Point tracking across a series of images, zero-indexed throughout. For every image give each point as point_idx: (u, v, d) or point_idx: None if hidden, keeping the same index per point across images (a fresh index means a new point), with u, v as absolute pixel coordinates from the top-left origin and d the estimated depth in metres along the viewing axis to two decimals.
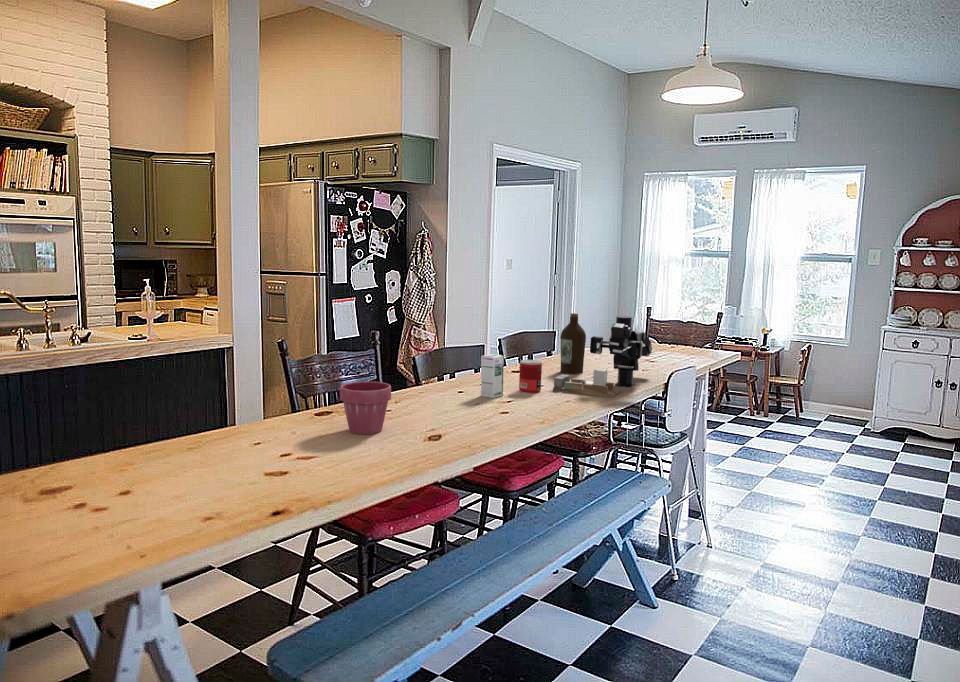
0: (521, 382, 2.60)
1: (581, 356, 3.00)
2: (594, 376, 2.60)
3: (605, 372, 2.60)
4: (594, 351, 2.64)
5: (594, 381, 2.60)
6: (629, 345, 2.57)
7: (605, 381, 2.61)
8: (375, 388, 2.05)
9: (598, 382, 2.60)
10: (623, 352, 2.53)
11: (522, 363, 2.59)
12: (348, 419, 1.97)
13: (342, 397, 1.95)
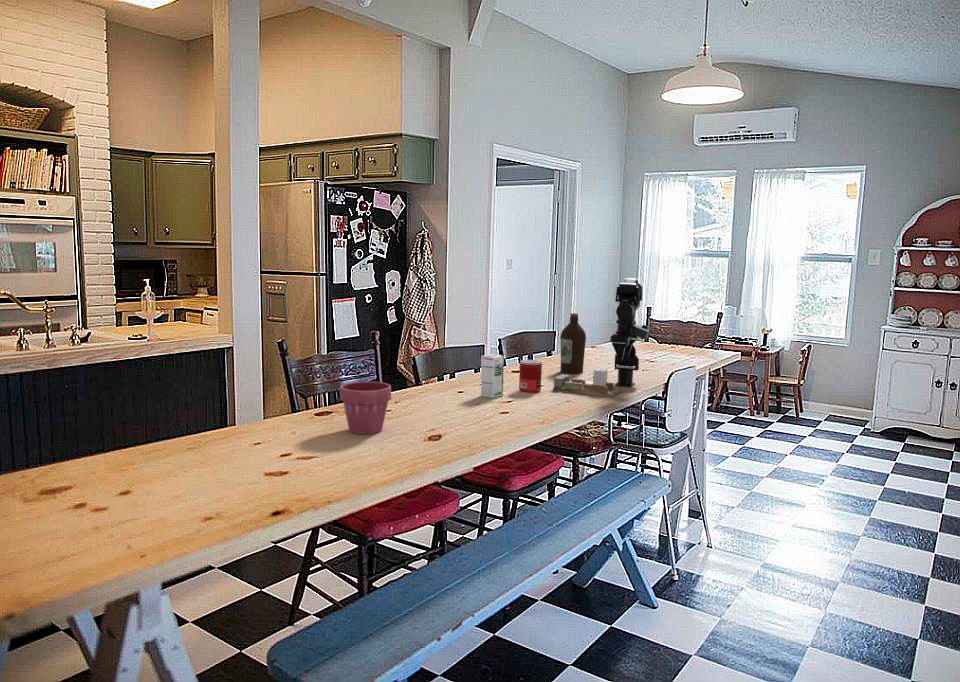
0: (521, 382, 2.60)
1: (581, 356, 3.00)
2: (594, 376, 2.60)
3: (605, 372, 2.60)
4: (613, 344, 2.56)
5: (594, 381, 2.60)
6: None
7: (605, 381, 2.61)
8: (375, 388, 2.05)
9: (598, 382, 2.60)
10: None
11: (522, 363, 2.59)
12: (348, 419, 1.97)
13: (342, 397, 1.95)
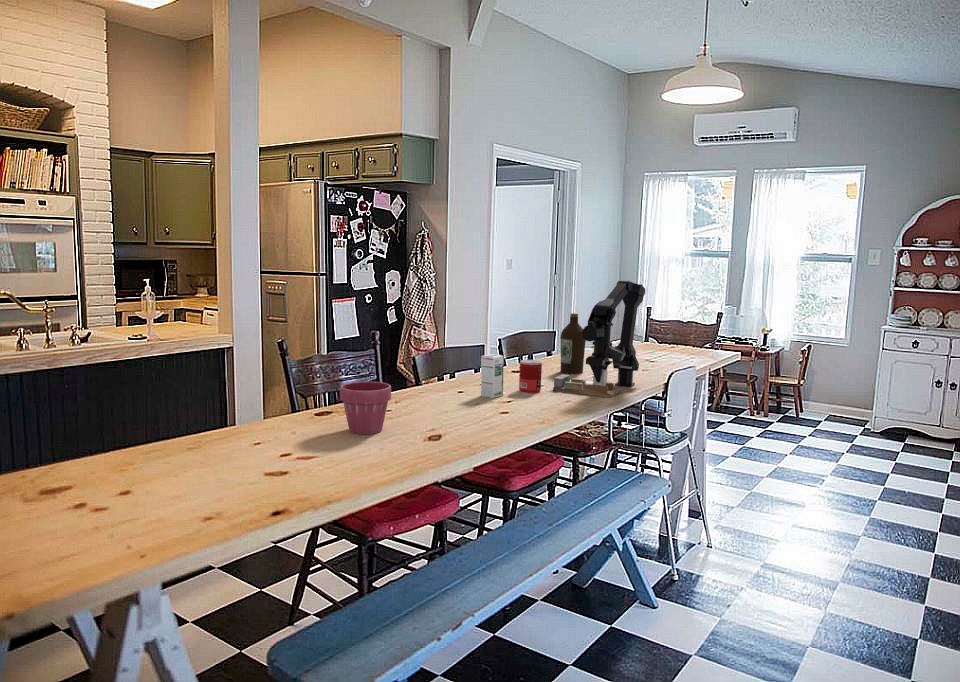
0: (521, 382, 2.60)
1: (581, 356, 3.00)
2: (594, 376, 2.60)
3: (605, 372, 2.60)
4: (591, 365, 2.57)
5: (594, 381, 2.60)
6: None
7: (605, 381, 2.61)
8: (375, 388, 2.05)
9: (598, 382, 2.60)
10: None
11: (522, 363, 2.59)
12: (348, 419, 1.97)
13: (342, 397, 1.95)
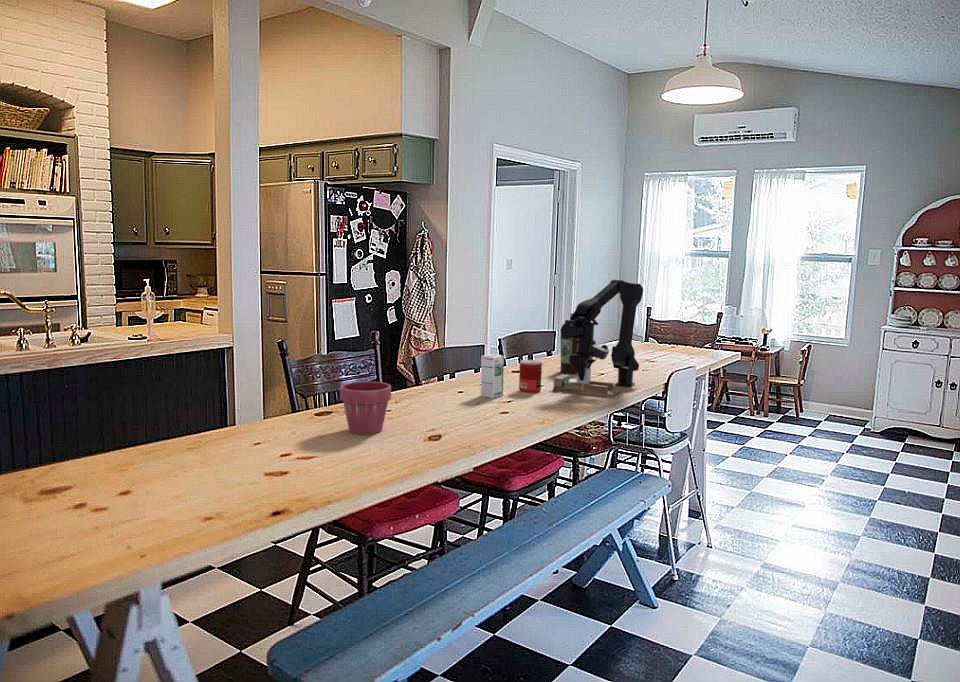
0: (521, 382, 2.60)
1: None
2: None
3: (588, 370, 2.63)
4: (574, 363, 2.60)
5: (578, 379, 2.63)
6: (591, 363, 2.66)
7: (589, 379, 2.64)
8: (375, 388, 2.05)
9: None
10: None
11: (522, 363, 2.59)
12: (348, 419, 1.97)
13: (342, 397, 1.95)
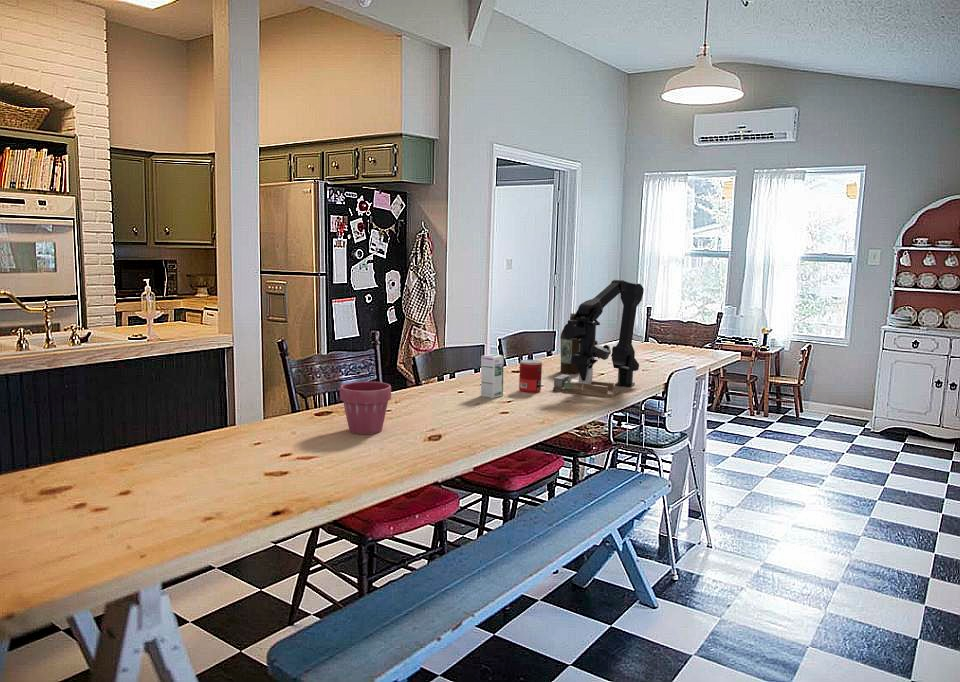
0: (521, 382, 2.60)
1: None
2: (579, 374, 2.63)
3: (590, 370, 2.62)
4: (576, 363, 2.60)
5: (579, 379, 2.63)
6: (593, 363, 2.65)
7: (590, 379, 2.63)
8: (375, 388, 2.05)
9: None
10: None
11: (522, 363, 2.59)
12: (348, 419, 1.97)
13: (342, 397, 1.95)
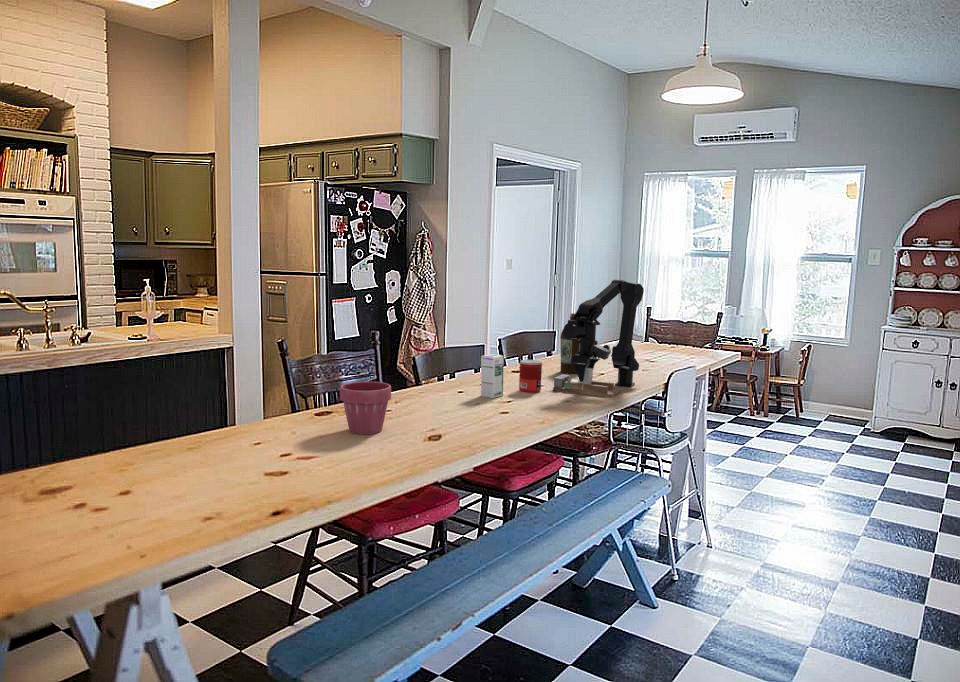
0: (521, 382, 2.60)
1: None
2: None
3: (590, 370, 2.62)
4: None
5: None
6: (595, 362, 2.67)
7: (590, 379, 2.63)
8: (375, 388, 2.05)
9: (583, 380, 2.62)
10: None
11: (522, 363, 2.59)
12: (348, 419, 1.97)
13: (342, 397, 1.95)
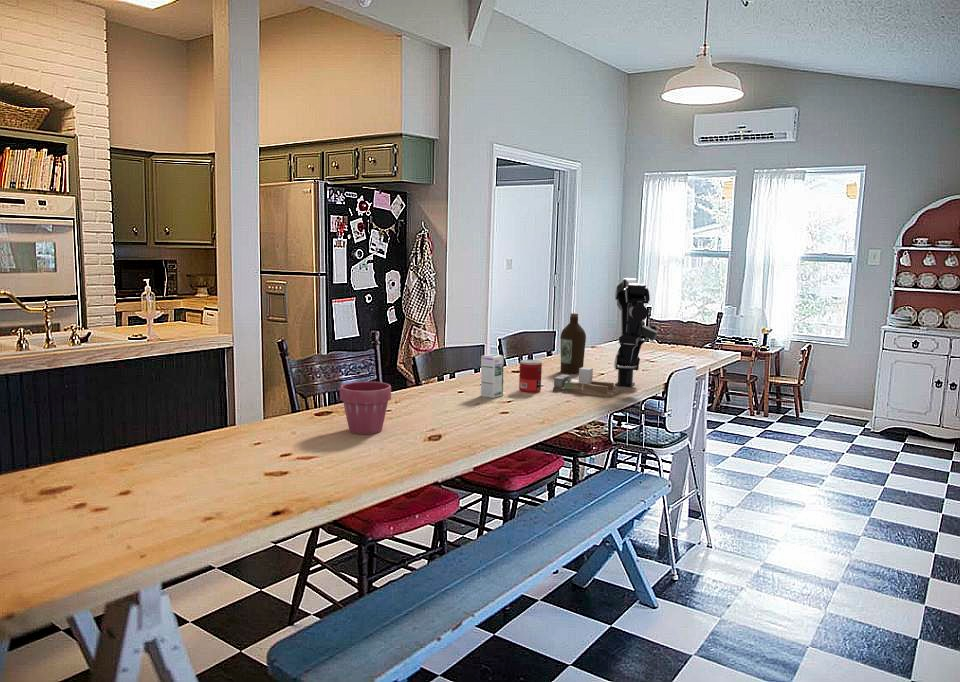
0: (521, 382, 2.60)
1: (581, 356, 3.00)
2: (579, 374, 2.63)
3: (590, 370, 2.62)
4: (622, 345, 2.56)
5: (579, 379, 2.63)
6: None
7: (590, 379, 2.63)
8: (375, 388, 2.05)
9: (583, 380, 2.62)
10: None
11: (522, 363, 2.59)
12: (348, 419, 1.97)
13: (342, 397, 1.95)
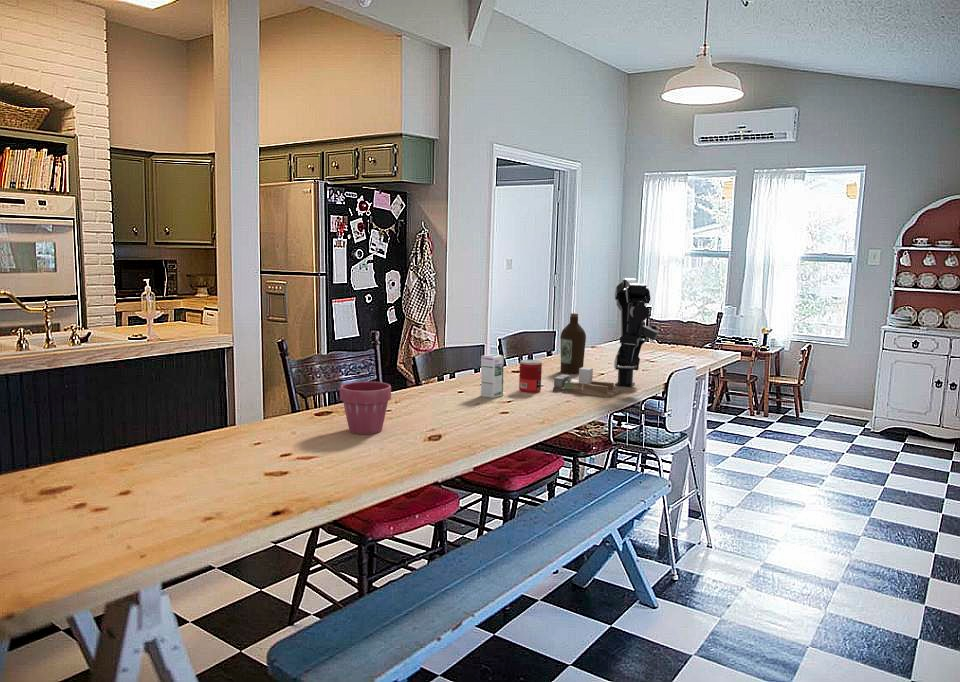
0: (521, 382, 2.60)
1: (581, 356, 3.00)
2: (579, 374, 2.63)
3: (590, 370, 2.62)
4: (623, 345, 2.56)
5: (579, 379, 2.63)
6: (642, 344, 2.66)
7: (590, 379, 2.63)
8: (375, 388, 2.05)
9: (583, 380, 2.62)
10: None
11: (522, 363, 2.59)
12: (348, 419, 1.97)
13: (342, 397, 1.95)
